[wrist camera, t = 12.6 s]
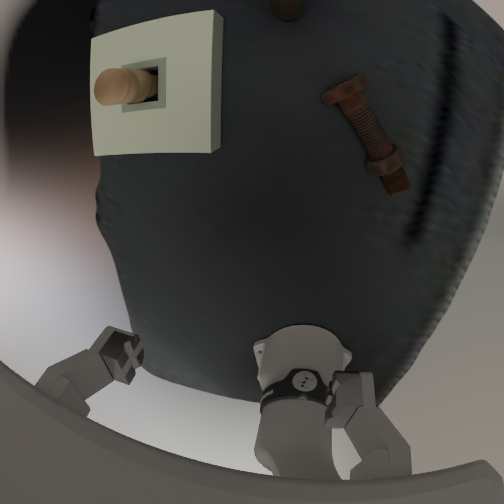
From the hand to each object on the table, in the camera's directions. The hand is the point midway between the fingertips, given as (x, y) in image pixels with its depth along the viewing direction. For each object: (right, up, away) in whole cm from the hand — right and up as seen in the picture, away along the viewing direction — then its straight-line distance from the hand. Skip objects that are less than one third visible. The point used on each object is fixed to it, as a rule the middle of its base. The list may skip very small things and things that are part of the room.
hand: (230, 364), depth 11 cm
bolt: (+15, +19, +20) cm, 32 cm away
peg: (-12, +27, +21) cm, 36 cm away
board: (-12, +27, +21) cm, 36 cm away
